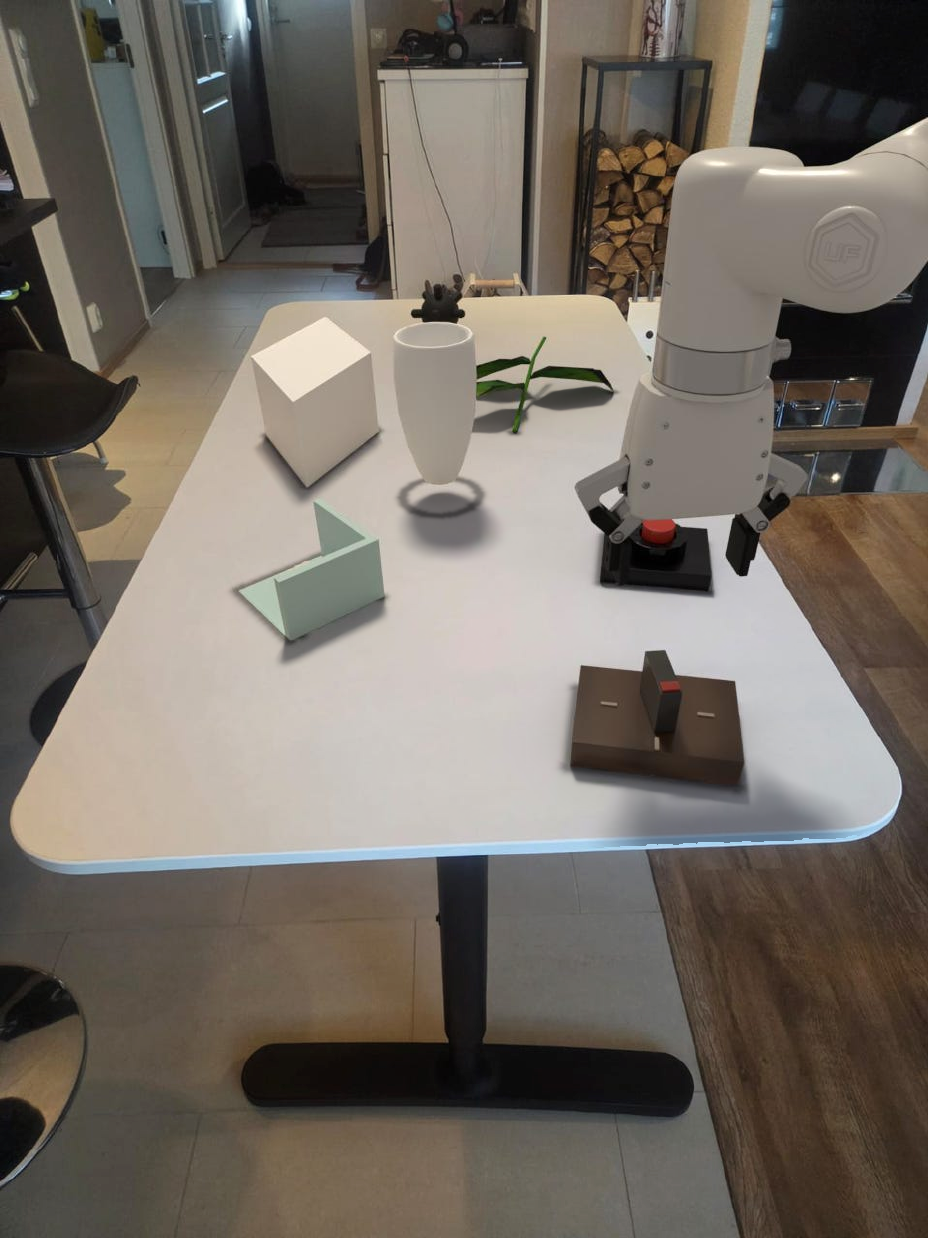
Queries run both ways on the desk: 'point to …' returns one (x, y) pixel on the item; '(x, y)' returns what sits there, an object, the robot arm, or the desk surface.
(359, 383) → the block
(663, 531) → the button
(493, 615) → the desk surface
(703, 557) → the button block
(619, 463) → the robot arm
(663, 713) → the handle
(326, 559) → the right angle wall
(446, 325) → the cup
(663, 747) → the panel
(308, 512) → the desk surface
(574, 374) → the plant
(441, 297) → the toy ball
